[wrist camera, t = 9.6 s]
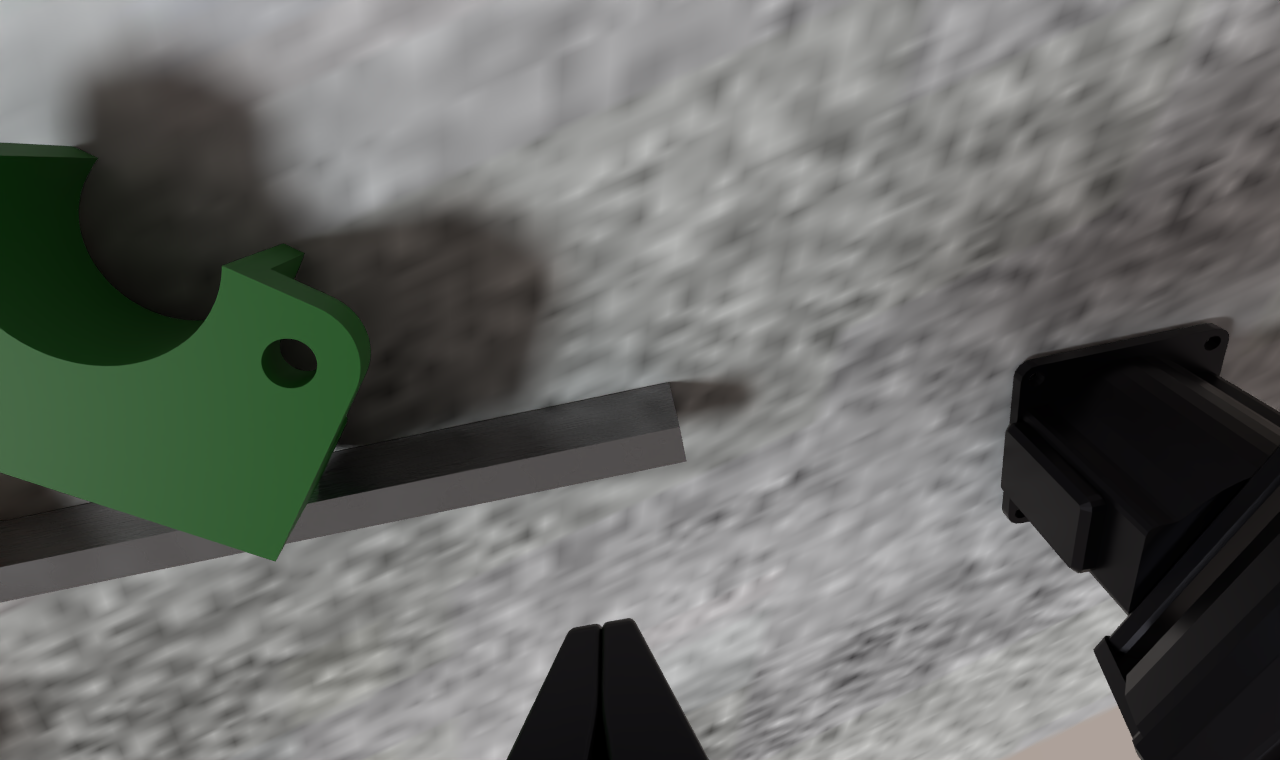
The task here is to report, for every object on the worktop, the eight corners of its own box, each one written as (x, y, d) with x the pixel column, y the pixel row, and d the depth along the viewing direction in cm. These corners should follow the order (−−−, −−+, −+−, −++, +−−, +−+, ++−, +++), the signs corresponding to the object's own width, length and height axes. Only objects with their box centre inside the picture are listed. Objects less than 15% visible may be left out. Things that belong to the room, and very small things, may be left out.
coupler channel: (527, -331, 13) (510, -442, 10) (675, 414, 22) (694, 494, 19) (-640, -58, 14) (-1042, -73, 11) (-52, 565, 23) (-165, 669, 19)
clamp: (363, 249, 23) (452, 358, 16) (293, 404, 24) (349, 568, 17) (-166, 38, 15) (-410, 81, 9) (-239, 280, 16) (-509, 490, 10)
